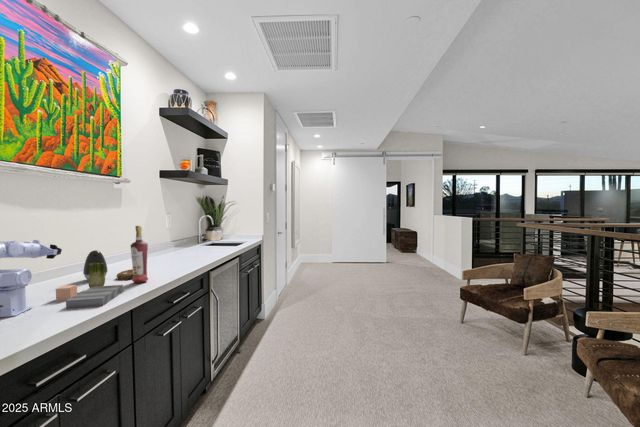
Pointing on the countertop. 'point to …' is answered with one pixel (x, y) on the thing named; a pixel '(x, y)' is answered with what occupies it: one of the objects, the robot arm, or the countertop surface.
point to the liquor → (139, 257)
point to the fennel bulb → (96, 275)
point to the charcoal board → (94, 296)
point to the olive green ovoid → (94, 258)
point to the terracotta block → (66, 292)
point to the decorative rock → (125, 275)
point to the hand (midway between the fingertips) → (50, 250)
